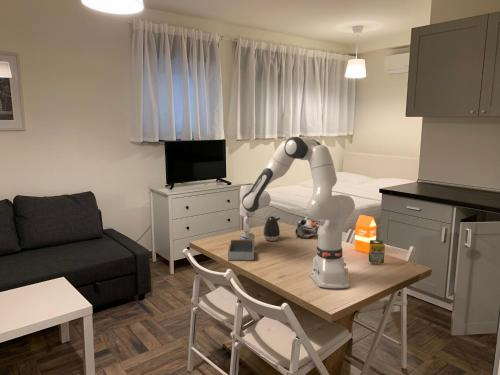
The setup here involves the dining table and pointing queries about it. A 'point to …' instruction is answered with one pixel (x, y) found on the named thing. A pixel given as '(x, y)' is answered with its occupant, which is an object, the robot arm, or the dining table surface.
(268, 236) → the pump dispenser
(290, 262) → the dining table surface
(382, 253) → the crayon box
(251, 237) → the medicine box
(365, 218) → the orange juice
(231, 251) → the metal drawer
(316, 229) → the lucky cat figurine
